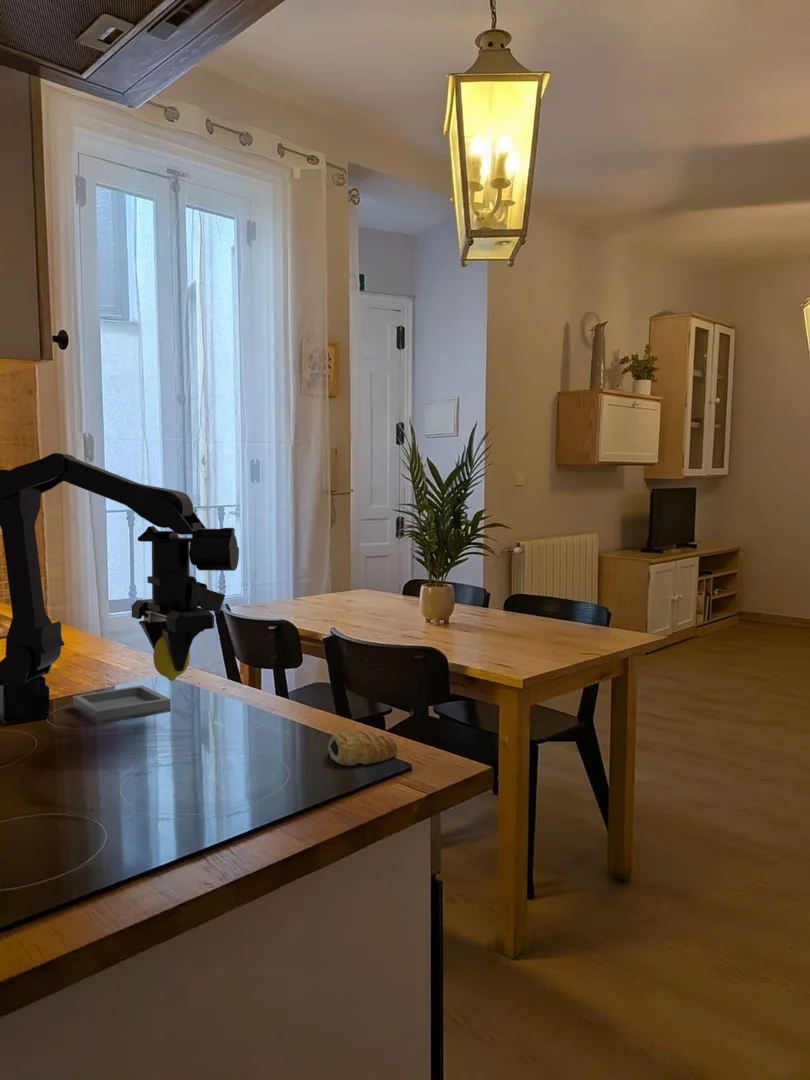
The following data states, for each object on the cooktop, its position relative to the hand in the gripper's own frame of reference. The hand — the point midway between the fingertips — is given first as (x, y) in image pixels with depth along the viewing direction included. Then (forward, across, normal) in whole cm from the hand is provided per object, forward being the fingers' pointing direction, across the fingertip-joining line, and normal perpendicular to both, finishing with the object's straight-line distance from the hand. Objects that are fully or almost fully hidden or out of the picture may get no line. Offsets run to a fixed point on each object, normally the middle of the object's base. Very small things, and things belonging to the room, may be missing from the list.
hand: (171, 667), depth 124 cm
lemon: (+2, 0, 0) cm, 2 cm away
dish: (+8, +11, +4) cm, 15 cm away
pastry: (+9, -33, -13) cm, 36 cm away
